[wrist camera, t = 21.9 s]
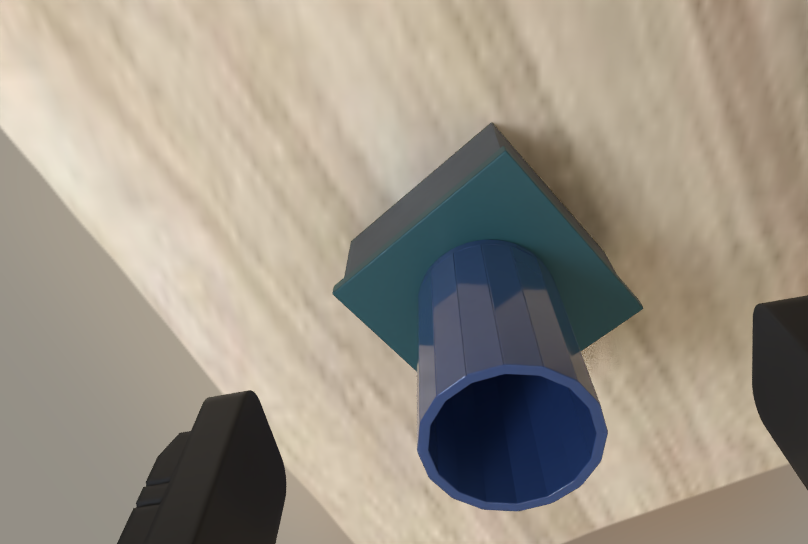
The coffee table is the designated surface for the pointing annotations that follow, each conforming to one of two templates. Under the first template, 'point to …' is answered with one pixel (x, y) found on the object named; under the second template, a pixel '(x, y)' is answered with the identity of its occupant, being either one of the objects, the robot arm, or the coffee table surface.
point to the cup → (502, 382)
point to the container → (470, 221)
